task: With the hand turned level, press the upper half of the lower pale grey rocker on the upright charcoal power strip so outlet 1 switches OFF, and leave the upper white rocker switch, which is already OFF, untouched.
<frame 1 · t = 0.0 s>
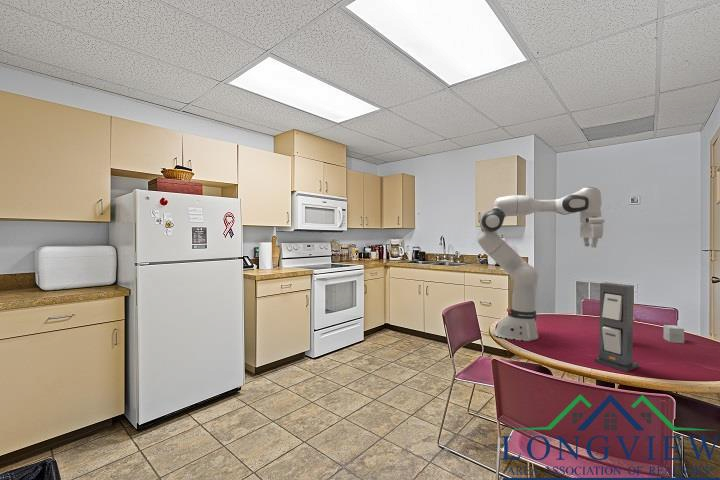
hand: (590, 246, 171), 48 cm above the table, tool pointing down, fingers open, 8 cm apart
skincare box: (673, 341, 171), on the table
white rocker switch 2: (612, 306, 140), point 25 cm above the table, hinge at 12.0°
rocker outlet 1: (612, 340, 141), point 11 cm above the table, hinge at -12.0°
paper cup: (624, 343, 169), on the table
power strip: (615, 364, 143), on the table
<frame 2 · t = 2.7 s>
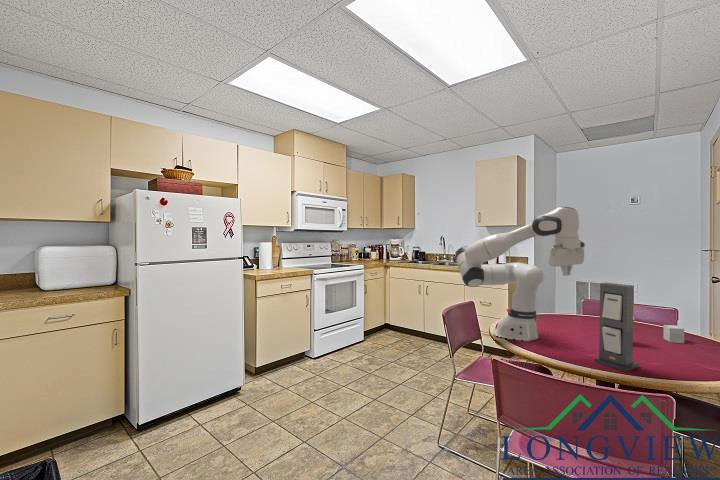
hand: (566, 275, 148), 37 cm above the table, tool pointing down, fingers closed
nothing on the table moved.
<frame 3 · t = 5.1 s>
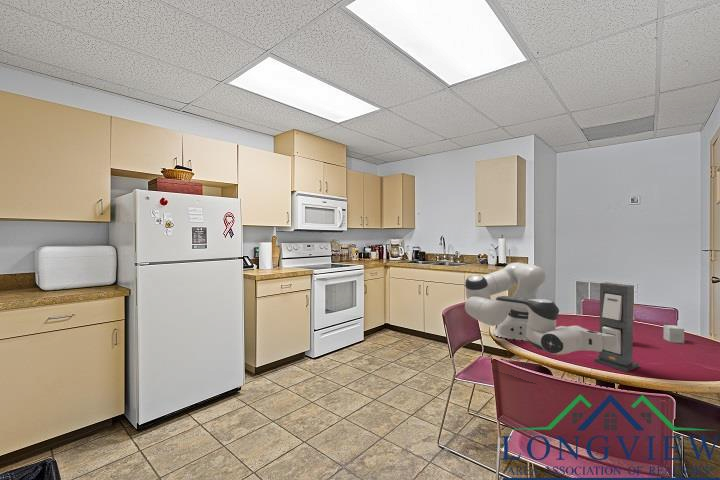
hand: (594, 333, 135), 16 cm above the table, tool horizontal, fingers closed
nothing on the table moved.
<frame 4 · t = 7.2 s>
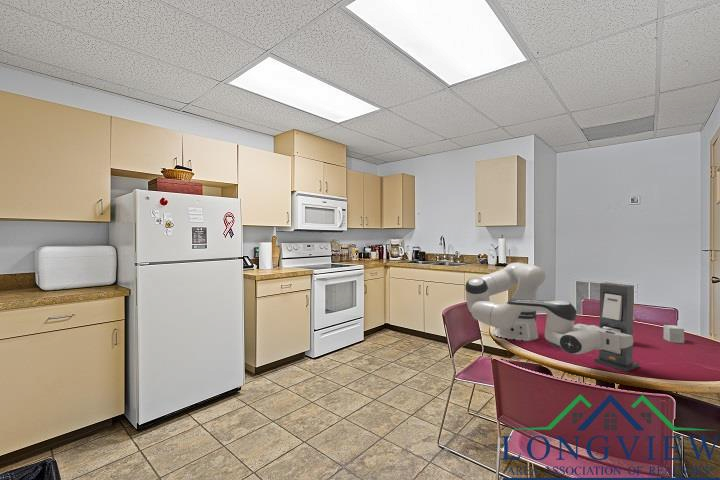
hand: (611, 331, 140), 15 cm above the table, tool horizontal, fingers closed, pressing on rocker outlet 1
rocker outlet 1: (612, 340, 141), point 11 cm above the table, hinge at -10.1°, touching gripper
everything else where it was.
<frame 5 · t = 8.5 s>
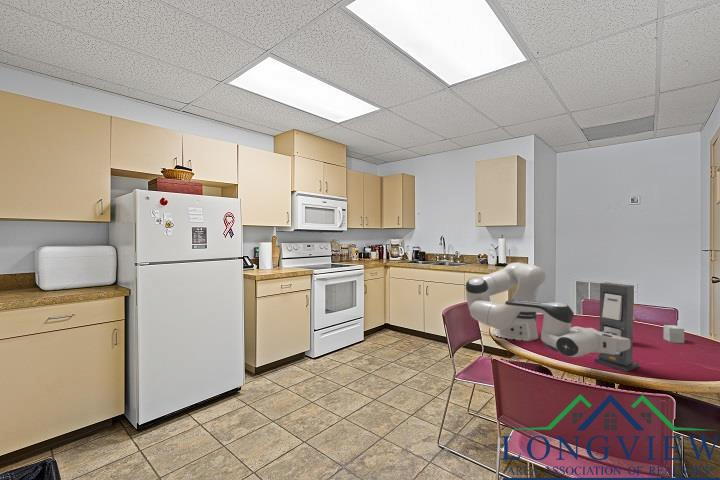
hand: (608, 334, 138), 14 cm above the table, tool horizontal, fingers closed
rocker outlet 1: (612, 340, 141), point 11 cm above the table, hinge at 9.2°
everything else where it was.
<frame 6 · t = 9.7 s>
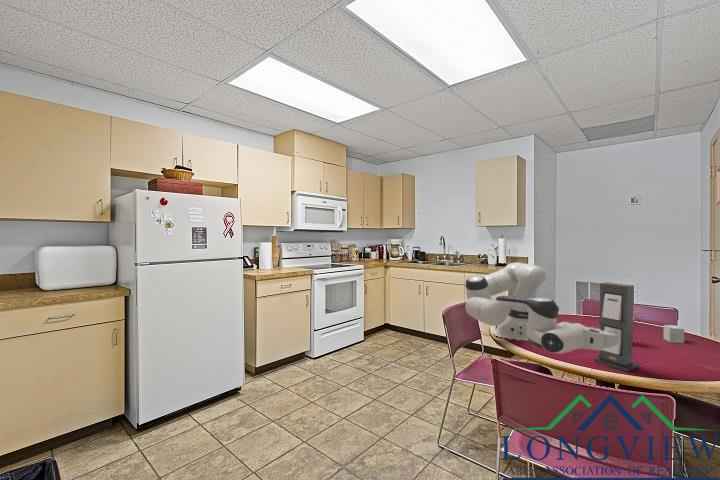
hand: (596, 330, 134), 17 cm above the table, tool horizontal, fingers closed
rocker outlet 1: (612, 340, 141), point 11 cm above the table, hinge at 12.7°
everything else where it was.
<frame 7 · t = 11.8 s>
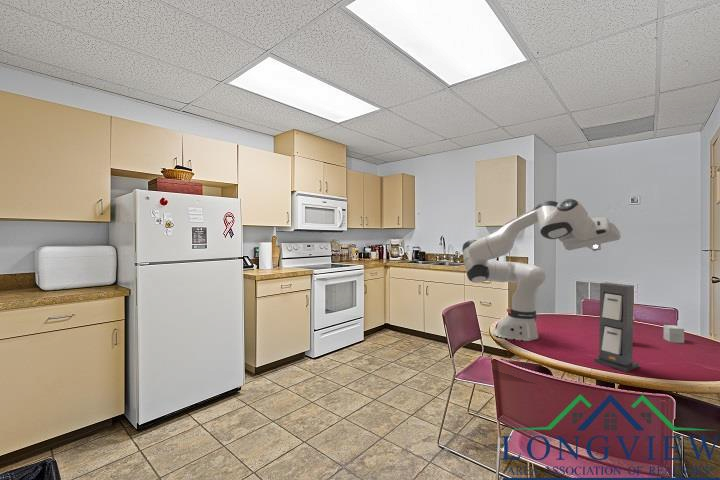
hand: (597, 249, 145), 49 cm above the table, tool tilted 50°, fingers closed
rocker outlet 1: (612, 340, 141), point 11 cm above the table, hinge at 13.8°
everything else where it was.
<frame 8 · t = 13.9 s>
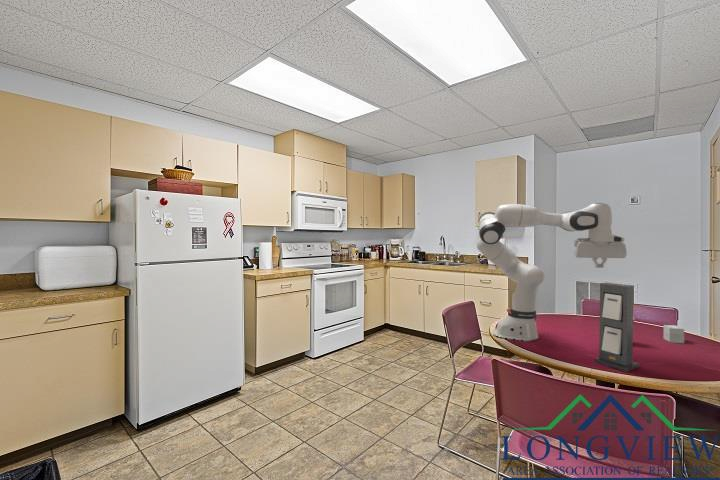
hand: (599, 267, 159), 39 cm above the table, tool pointing down, fingers closed
nothing on the table moved.
at the end: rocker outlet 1 at +14° (first picture: -12°); white rocker switch 2 at +12° (first picture: +12°) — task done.
